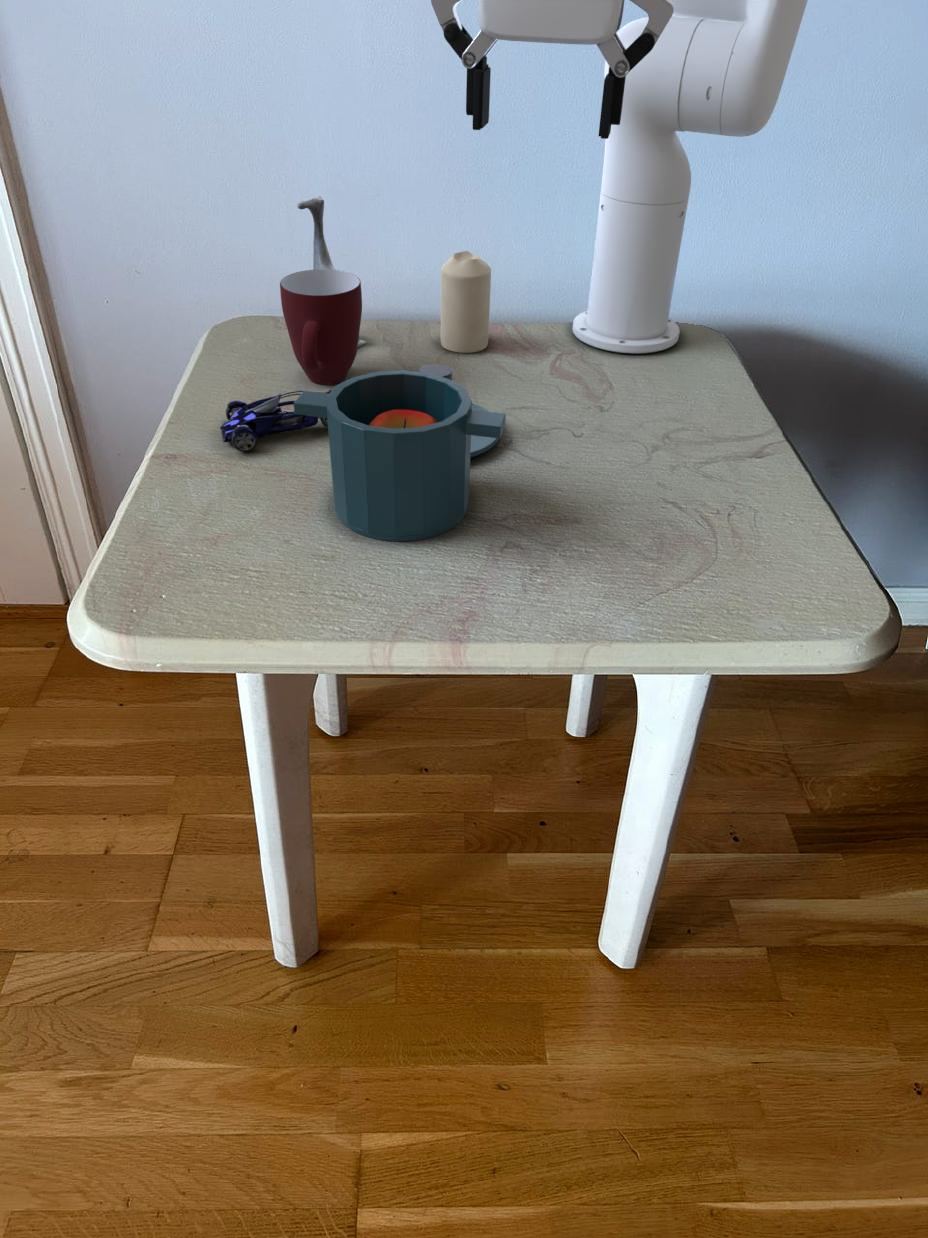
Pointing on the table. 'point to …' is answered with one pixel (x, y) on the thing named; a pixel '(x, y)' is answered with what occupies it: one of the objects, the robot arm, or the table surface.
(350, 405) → the pot
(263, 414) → the toy car
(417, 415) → the apple
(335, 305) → the mug
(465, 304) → the candle
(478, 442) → the lid
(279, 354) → the table surface
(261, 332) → the table surface
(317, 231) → the figurine
